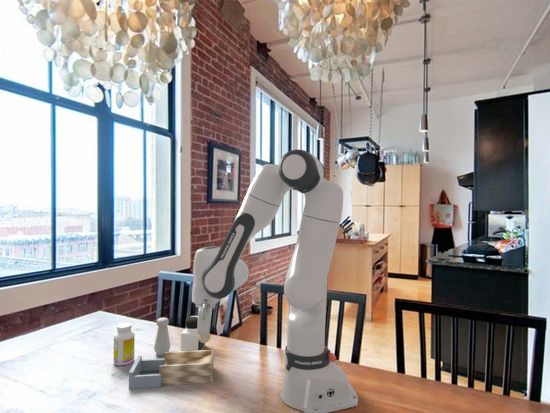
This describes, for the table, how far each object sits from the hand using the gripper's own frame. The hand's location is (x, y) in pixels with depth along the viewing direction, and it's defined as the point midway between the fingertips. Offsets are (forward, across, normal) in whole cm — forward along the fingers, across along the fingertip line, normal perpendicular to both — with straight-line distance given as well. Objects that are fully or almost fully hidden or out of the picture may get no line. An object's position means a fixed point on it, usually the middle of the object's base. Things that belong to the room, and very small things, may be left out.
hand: (204, 337), depth 109 cm
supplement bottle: (+13, +12, +28) cm, 33 cm away
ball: (0, 0, 0) cm, 0 cm away
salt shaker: (+13, +17, +16) cm, 27 cm away
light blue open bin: (+12, 0, +17) cm, 21 cm away
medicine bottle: (+13, +20, +5) cm, 24 cm away
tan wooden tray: (+12, 0, +5) cm, 13 cm away
